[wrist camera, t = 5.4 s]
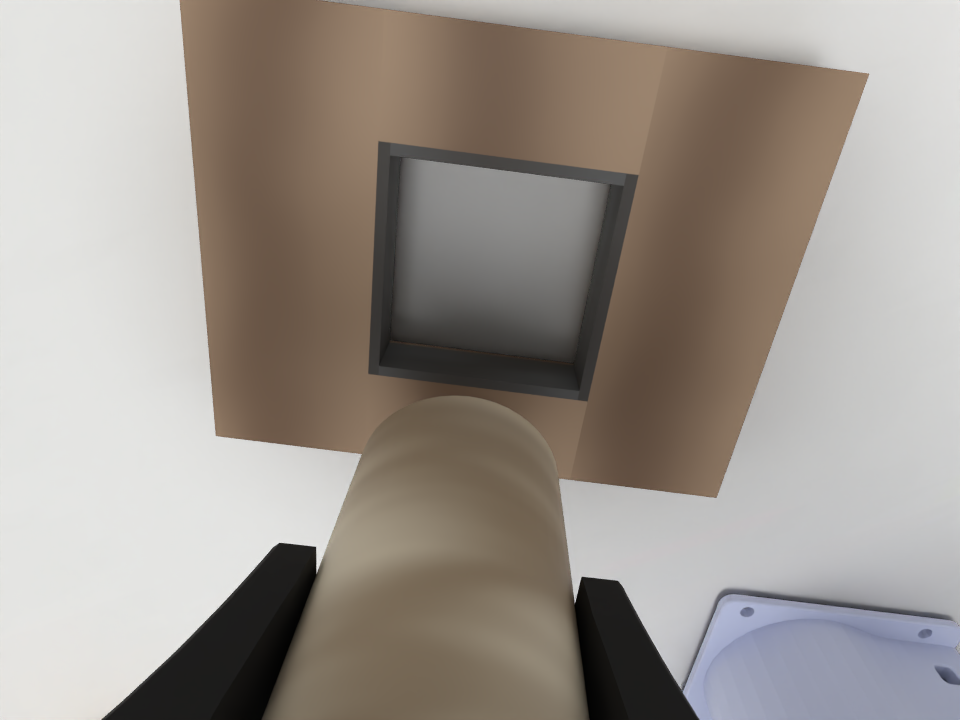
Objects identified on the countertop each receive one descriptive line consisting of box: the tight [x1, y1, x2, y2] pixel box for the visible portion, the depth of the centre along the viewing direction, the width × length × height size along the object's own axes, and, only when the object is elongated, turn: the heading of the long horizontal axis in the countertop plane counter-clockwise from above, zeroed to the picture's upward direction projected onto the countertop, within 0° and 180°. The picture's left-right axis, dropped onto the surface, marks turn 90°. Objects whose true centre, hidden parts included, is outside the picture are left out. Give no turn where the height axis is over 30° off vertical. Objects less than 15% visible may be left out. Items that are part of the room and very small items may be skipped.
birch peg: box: [262, 396, 590, 720], centre depth 9 cm, size 4×4×9 cm
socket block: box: [180, 0, 869, 498], centre depth 17 cm, size 16×12×2 cm
